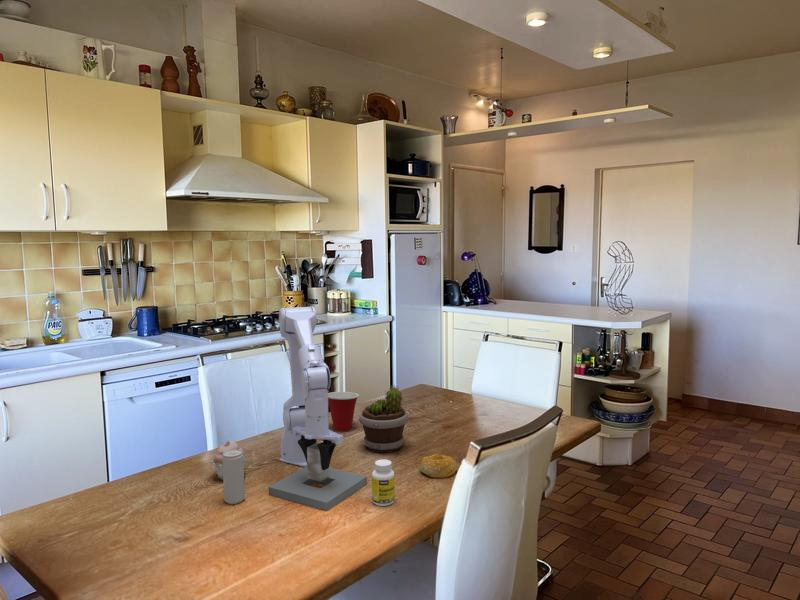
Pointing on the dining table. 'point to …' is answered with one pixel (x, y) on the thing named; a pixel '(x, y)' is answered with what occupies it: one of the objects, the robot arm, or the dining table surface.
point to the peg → (315, 464)
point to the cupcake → (218, 455)
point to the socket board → (321, 498)
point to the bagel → (438, 466)
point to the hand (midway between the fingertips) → (318, 467)
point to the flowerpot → (384, 422)
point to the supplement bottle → (383, 483)
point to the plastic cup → (342, 409)
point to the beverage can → (233, 476)
